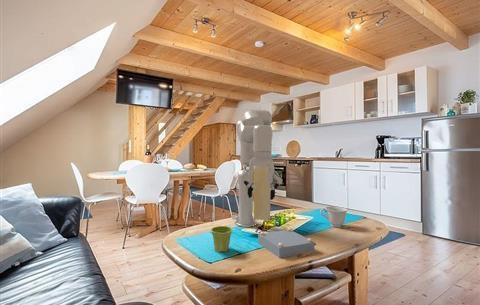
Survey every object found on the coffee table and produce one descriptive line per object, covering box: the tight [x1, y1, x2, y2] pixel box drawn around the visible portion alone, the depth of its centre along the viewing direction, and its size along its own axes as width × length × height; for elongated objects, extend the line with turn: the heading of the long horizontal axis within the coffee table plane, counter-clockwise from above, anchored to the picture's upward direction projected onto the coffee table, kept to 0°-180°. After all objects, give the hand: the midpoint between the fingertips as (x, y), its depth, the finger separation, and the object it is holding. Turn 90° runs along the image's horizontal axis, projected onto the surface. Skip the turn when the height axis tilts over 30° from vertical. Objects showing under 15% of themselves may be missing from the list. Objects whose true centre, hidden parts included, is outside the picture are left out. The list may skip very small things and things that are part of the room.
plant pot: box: [210, 225, 234, 252], centre depth 111 cm, size 9×9×9 cm
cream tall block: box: [252, 166, 271, 221], centre depth 105 cm, size 8×7×21 cm
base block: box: [257, 227, 315, 259], centre depth 116 cm, size 18×18×5 cm
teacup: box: [319, 205, 349, 228], centre depth 149 cm, size 12×15×10 cm
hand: (261, 198), depth 105 cm, fingers closed on cream tall block, 8 cm apart
